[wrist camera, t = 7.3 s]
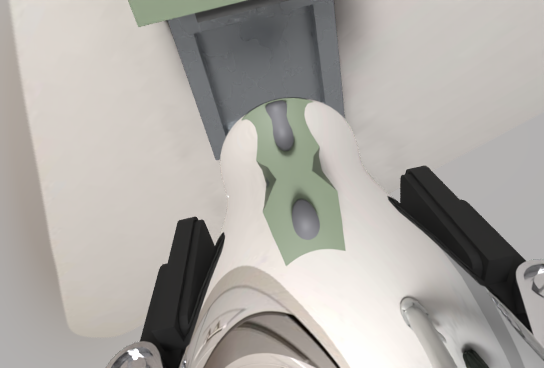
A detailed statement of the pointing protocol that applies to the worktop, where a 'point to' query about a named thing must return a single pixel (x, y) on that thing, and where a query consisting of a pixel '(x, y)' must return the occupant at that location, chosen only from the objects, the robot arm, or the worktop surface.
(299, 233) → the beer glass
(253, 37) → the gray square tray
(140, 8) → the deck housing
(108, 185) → the worktop surface
